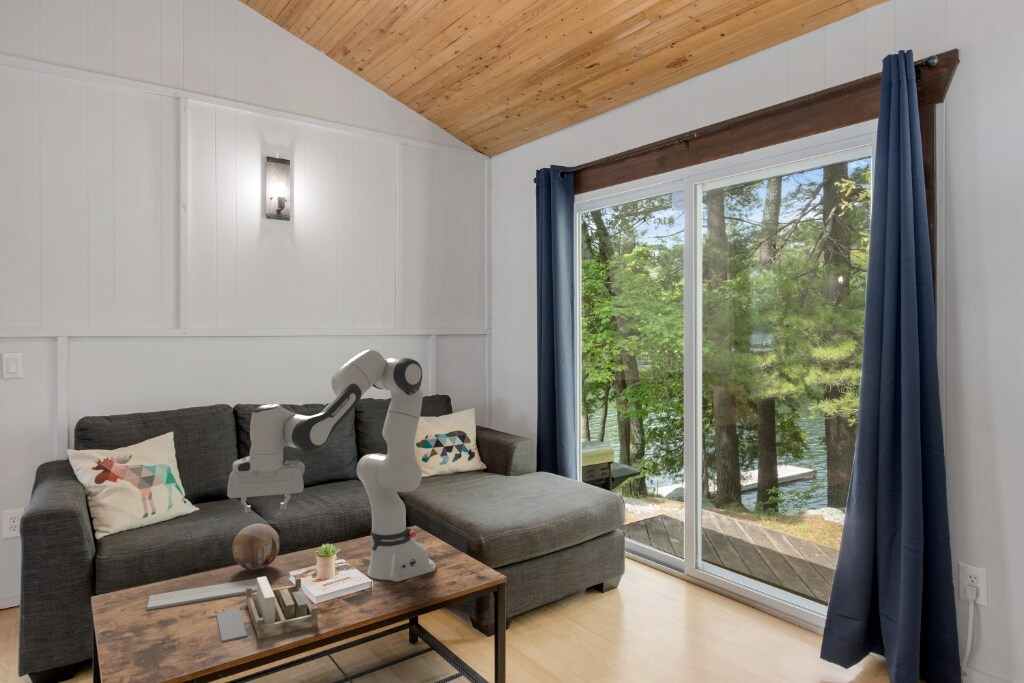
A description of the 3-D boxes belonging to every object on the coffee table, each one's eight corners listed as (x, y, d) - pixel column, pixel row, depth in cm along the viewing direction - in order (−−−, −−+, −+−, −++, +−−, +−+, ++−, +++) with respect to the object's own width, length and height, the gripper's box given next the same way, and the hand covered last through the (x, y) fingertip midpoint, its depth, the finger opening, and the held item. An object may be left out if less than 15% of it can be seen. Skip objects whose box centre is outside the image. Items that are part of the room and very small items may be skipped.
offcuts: (296, 598, 191) (296, 583, 191) (307, 619, 177) (306, 603, 177) (279, 601, 189) (279, 586, 188) (289, 623, 175) (289, 607, 175)
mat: (239, 610, 183) (239, 608, 183) (246, 636, 167) (246, 635, 167) (216, 614, 180) (216, 613, 180) (221, 642, 165) (221, 640, 165)
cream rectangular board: (266, 606, 186) (265, 576, 186) (275, 629, 172) (274, 596, 172) (257, 608, 185) (256, 577, 184) (265, 631, 171) (264, 598, 170)
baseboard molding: (150, 596, 194) (146, 612, 183) (150, 587, 194) (146, 602, 183) (259, 579, 207) (261, 593, 196) (259, 570, 207) (261, 584, 196)
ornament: (285, 569, 210) (282, 523, 211) (236, 579, 203) (233, 532, 204) (277, 559, 223) (274, 516, 224) (231, 568, 216) (228, 524, 217)
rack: (300, 593, 195) (300, 577, 195) (317, 625, 173) (317, 607, 173) (246, 604, 187) (246, 587, 187) (257, 639, 166) (257, 620, 166)
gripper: (303, 457, 186) (303, 504, 186) (227, 462, 178) (226, 511, 178) (306, 461, 181) (305, 510, 181) (227, 466, 172) (226, 517, 172)
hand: (265, 510), depth 179 cm, fingers open, 8 cm apart
